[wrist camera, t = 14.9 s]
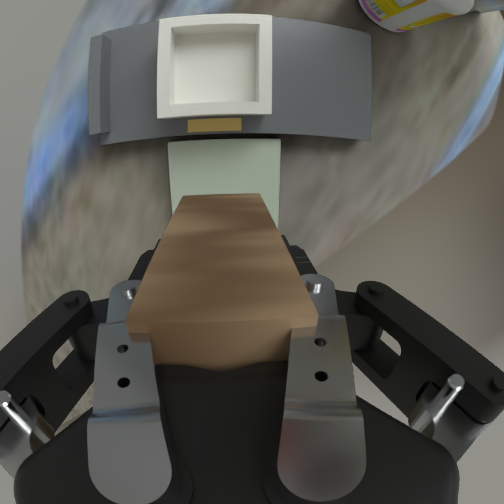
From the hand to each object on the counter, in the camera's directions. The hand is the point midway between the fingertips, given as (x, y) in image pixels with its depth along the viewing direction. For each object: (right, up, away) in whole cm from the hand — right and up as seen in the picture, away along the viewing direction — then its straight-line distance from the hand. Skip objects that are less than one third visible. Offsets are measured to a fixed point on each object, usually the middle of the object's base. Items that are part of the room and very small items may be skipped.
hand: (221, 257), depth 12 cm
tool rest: (-1, +5, +11) cm, 13 cm away
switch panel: (0, +14, +7) cm, 16 cm away
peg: (0, +1, +3) cm, 3 cm away
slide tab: (-1, +13, +5) cm, 14 cm away
